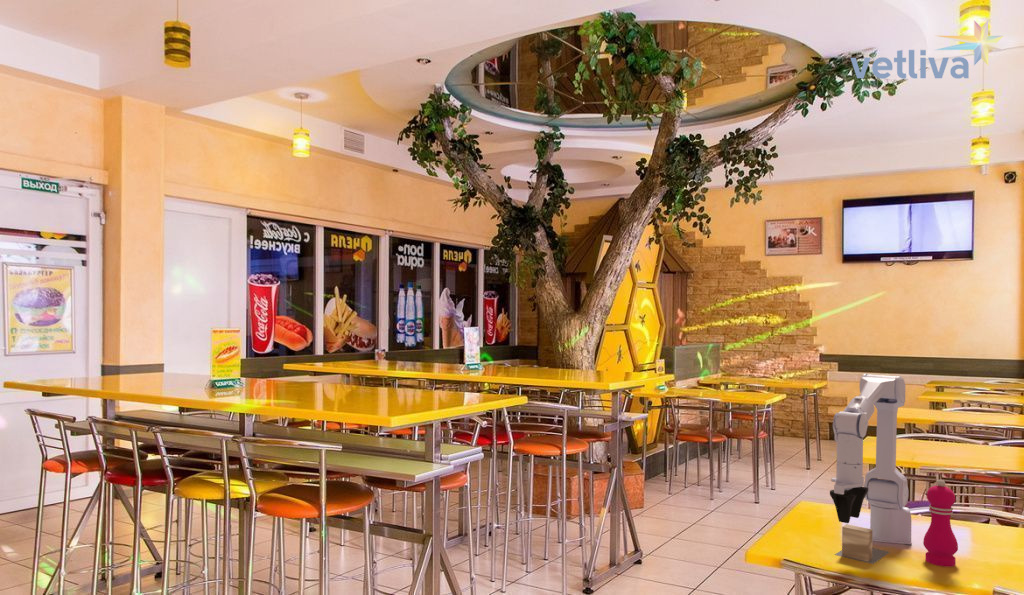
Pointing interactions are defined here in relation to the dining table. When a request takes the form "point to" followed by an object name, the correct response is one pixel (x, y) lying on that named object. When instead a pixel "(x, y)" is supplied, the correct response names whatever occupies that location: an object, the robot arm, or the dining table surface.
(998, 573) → the dining table surface
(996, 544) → the dining table surface
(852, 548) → the birch block
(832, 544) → the dining table surface
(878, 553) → the grey panel
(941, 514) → the pepper mill
